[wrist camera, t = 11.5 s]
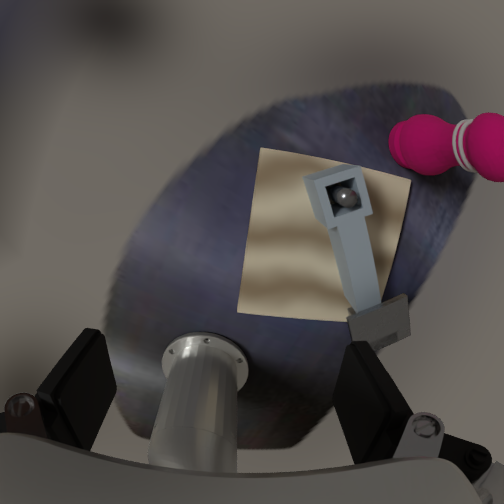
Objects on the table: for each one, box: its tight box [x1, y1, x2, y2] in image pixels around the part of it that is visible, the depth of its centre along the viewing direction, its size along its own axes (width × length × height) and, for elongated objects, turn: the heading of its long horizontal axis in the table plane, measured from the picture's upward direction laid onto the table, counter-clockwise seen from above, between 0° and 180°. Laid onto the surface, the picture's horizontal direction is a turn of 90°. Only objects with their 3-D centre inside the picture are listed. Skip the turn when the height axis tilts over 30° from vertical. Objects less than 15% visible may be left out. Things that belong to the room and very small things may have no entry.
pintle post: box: [325, 184, 357, 208], centre depth 30 cm, size 2×2×8 cm
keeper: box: [346, 293, 411, 351], centre depth 34 cm, size 6×7×9 cm
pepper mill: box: [389, 113, 504, 182], centre depth 23 cm, size 7×7×20 cm
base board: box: [237, 148, 411, 322], centre depth 35 cm, size 20×19×1 cm
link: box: [302, 164, 381, 313], centre depth 32 cm, size 16×5×6 cm, turn 20°
